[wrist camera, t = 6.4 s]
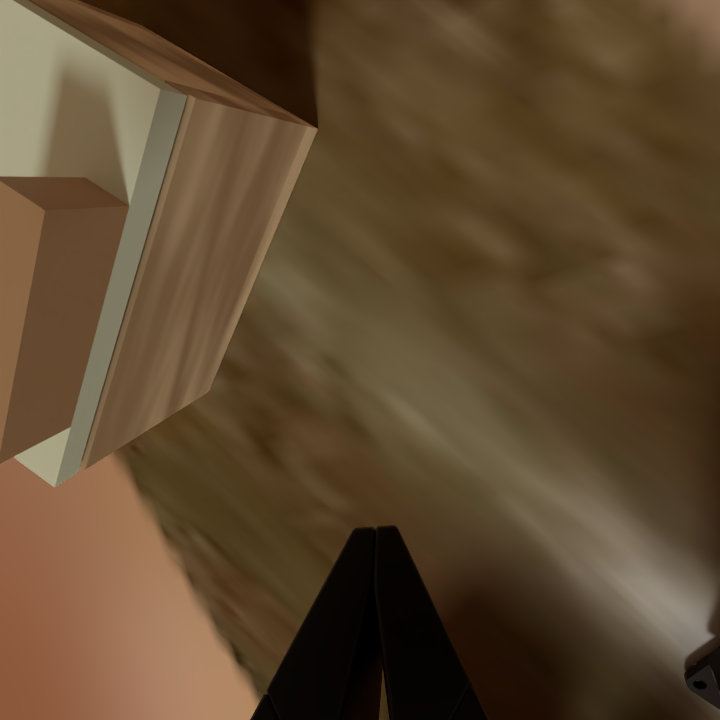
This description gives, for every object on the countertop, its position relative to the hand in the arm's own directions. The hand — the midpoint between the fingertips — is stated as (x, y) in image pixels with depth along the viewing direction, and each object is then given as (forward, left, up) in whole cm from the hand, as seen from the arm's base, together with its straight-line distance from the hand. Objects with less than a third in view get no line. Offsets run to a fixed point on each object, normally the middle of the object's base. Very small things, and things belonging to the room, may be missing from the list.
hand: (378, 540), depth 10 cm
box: (+14, +2, -13) cm, 19 cm away
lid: (+14, +2, -4) cm, 15 cm away
